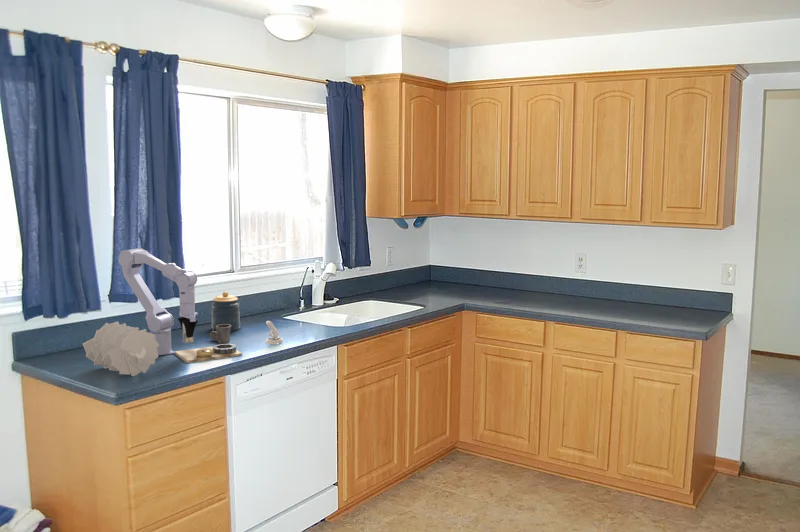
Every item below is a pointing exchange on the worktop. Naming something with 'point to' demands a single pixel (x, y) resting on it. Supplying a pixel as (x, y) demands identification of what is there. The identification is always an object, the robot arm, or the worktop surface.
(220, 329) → the pipe
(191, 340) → the pipe stub
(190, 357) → the fitting board
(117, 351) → the spiral staircase
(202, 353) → the plug small
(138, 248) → the robot arm
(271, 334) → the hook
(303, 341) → the worktop surface
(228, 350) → the socket large
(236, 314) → the canister
